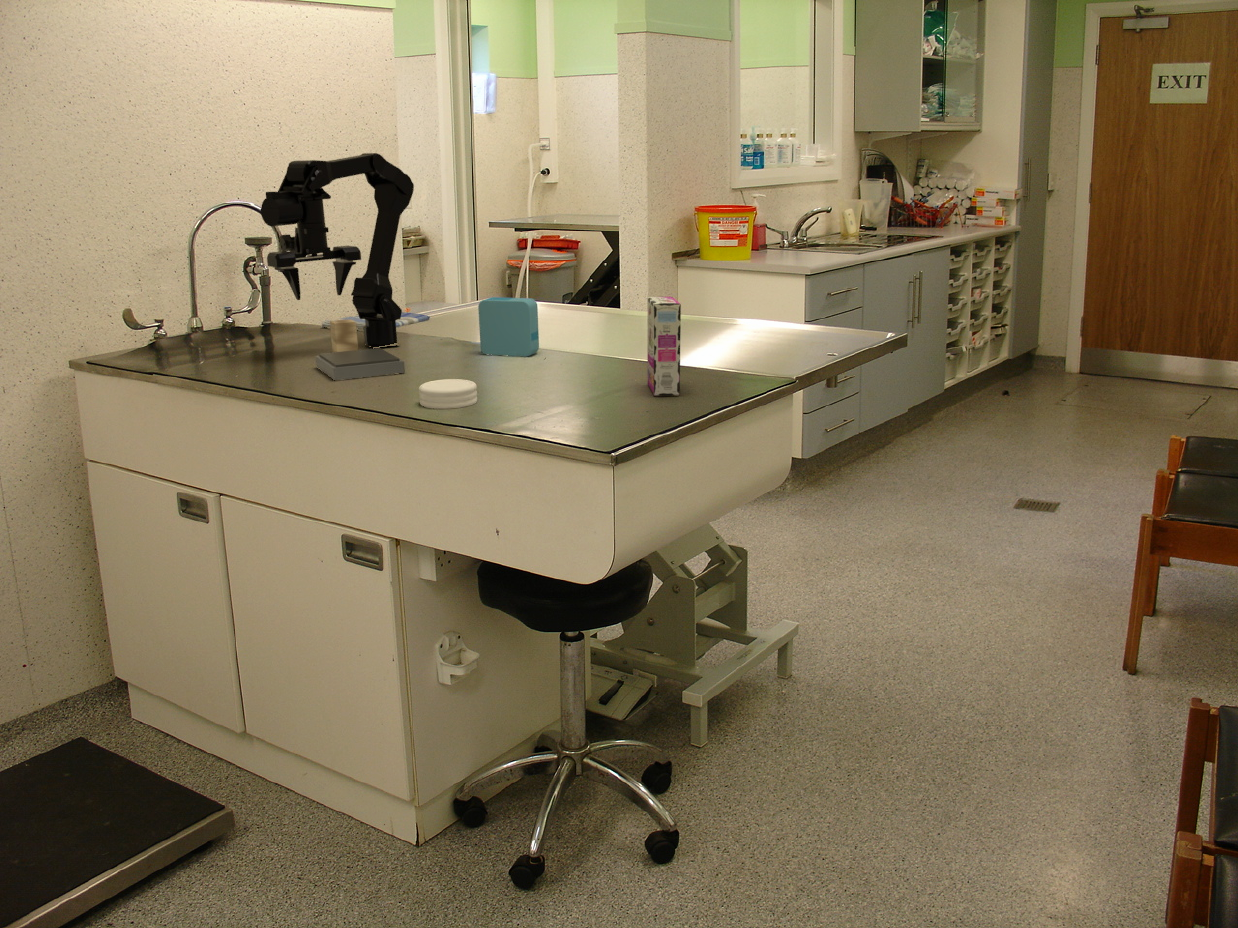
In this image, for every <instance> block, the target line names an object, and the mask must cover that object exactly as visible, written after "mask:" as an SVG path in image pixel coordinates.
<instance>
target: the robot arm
mask: <svg viewBox="0 0 1238 928" xmlns="http://www.w3.org/2000/svg"><path fill="white" fill-rule="evenodd" d="M357 175H358V176H359V175H364V176H365V179H366V181H367V183H368V185H370V186H371V187H372V188H373V189H374V191H373V194H374V195H373V198H374V202H375V205H376V208H377V216H376V220H375V224H374V231H373V236H372V241H371V246H370V251H369V257H368V260H367V261H368V262H367V265H366V271H365V273H364V274H363V276H362V277H355V278H354V280H353V289H352V292H351V294H350V295H351V296H352V305H353V306H354V308H355V309H356V312H357V316H359V318H360V319H365V325H366V326H364V327H363V330H364V332H363V342H364V345H365V344H366V345H368V346H371V347H379V346H385V345H390V344H394V343H398V337H397V334H398V333H397V327H396V320H397V319H401V313H402V312H403V310H402V308H401V307H400V306H399V305H398V304H397V303H396V301H394V300H393V286H392V284H391V281H390V277H389V275H390V270H391V263H392V260H393V255H394V251H395V250H394V249H395V244H396V241H397V239H396V238H397V234H398V229H399V223H400V219H401V215H402V214H403V212H404V211H406V209H407V208H408V206H409V205H410V203H411V199H412V198H413V197H412V196H413V194H414V190H415V189H414V187H415V186H414V182H413V181H412V179H411V177H410V175H409V174H408V173H405V172H403V170H402V169H401V168H399V167H398V166H395V165H394V164H392V163H391V162H389V161H387V160H386V158H384V156H383V155H381V154H379V153H377V152H374V153H373V152H370V153H369V152H366V153H362V154H359V155H353V156H349V157H343V158H342V157H341V158H337V159H332V160H318V159H317V160H315V159H314V160H312V159H311V160H307V159H306V160H293V161H290V162H289V163H288V165H287V168H286V173H285V175H284V177H283V179H282V182H281V184H280V186H279V188H278V190H277V191H266V192H265V198H264V199H263V201H262V202H261V208H260V216H261V219H262V220H263V222H264V223H265V224H266V225H267V226H269V227H278V226H279V227H281V226H289V225H296V227H295V228H294V236H291V234H281V235H279V245H280V250H281V251H271V252H270V251H269V252H268V253H267V256H266V262H267V266H268V267H272V268H274V270H275V271H280V273H281V274H283V276H284V278H285V279H286V281H287V282H288V285H289V286H290V288H291V291H292V293H293V295H294V297H295V299H296V300H297V301H300V300H301V286H300V285H301V284H300V275H299V268H298V267H295V264H296V263H304V262H305V263H306V262H317V261H318V262H319V261H327V260H333V261H332V265H333V268H334V270H335V271H334V273H335V274H334V275H335V289H336V290H335V291H336V295H337V296H341V295H343V294H342V293H343V290H344V287H345V284H346V281H347V278H348V276H349V274H350V271H351V269H352V267H353V266H354V265H357V262H356V261H361V260H362V253H361V250H360V248H359V247H358V246H354V245H338V246H333V247H332V250H331V246H328V245H329V244H328V238H327V233H329V232H330V231H329V227H328V226H327V227H326V219H325V217H326V216H325V209H324V200H330V199H331V198H332V196H331V194H329V192H326V191H325V189H324V187H326V186H328V185H330V184H331V183H332V182H333V181H335V180H338V179H342V178H348V177H353V176H354V177H355V176H357ZM366 345H365V346H366ZM368 346H367V347H368Z"/></svg>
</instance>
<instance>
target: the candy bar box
mask: <svg viewBox="0 0 1238 928" xmlns="http://www.w3.org/2000/svg"><path fill="white" fill-rule="evenodd" d="M681 306H682V304H681V302H679V301H678V300H676V298H674V297H673V296H648V297H647V347H646V348H647V386H648V388H649V389H650V391H651V393H652V395H653V396H654V397H676V396H677V397H678V396H681V327H682V326H681V323H682V322H681V317H682V316H681V315H682V311H681V310H682V307H681Z"/></svg>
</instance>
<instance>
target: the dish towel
mask: <svg viewBox="0 0 1238 928" xmlns="http://www.w3.org/2000/svg"><path fill="white" fill-rule="evenodd" d="M430 318H431V317H430V316H429V315H426V314H422V313H414V312H405V311H402V313H401V319H397V320H396V328H399V327H403V326H407V325H408V326H409V325H412V324H417V323H422V322H427V321H429V320H430ZM349 319H351V320H353V321H355V322H356V328H358V329H363V327H364V326H366V325H365V319H360V318H359V315H356V316H347V317H342V318H338V319H337V318H336V319H333V320H330V319H325V320H324V321H322V322H321V326H322V327H321V328H324V327H330V321H336V320H349Z"/></svg>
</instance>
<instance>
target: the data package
mask: <svg viewBox="0 0 1238 928" xmlns="http://www.w3.org/2000/svg"><path fill="white" fill-rule="evenodd" d="M477 307H478V324H479V343H480V344H479V345H480V351H481V352H482V353H483V355H485V354H489V355H488V356H492V355H508V356H507V357H514V356H522V357H521V358H527V357H530V356H532V355H534V354H536V353H538V351H539V349H540V340H539V339H540V336H539V315H538V313H539V312H538V310H539V309H538V304H537V301H536V300H535V299H533V298H531V297H529V298H528V297H527V298H526V297H523V298H522V297H495V296H494V297H493V296H492V297H488V298H486V299H482V300H481V301H480V302H479V303H478V306H477ZM491 354H492V355H491Z"/></svg>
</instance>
